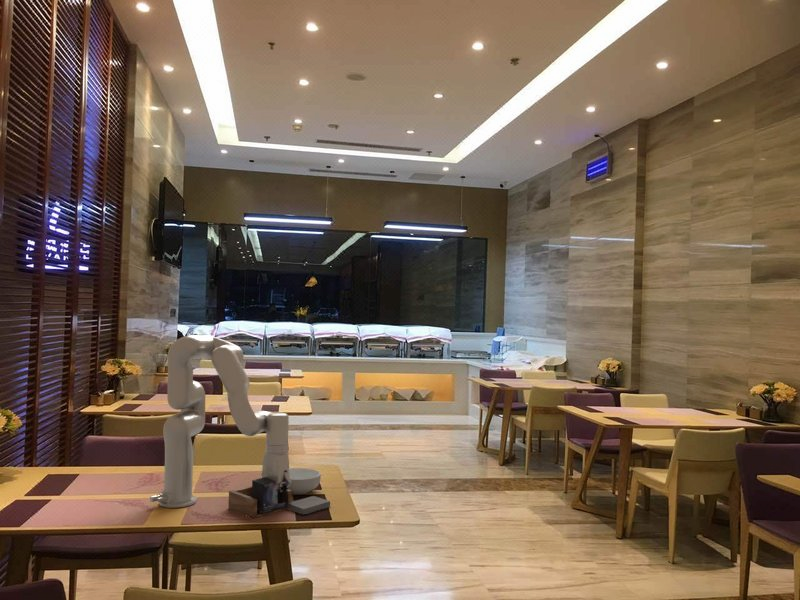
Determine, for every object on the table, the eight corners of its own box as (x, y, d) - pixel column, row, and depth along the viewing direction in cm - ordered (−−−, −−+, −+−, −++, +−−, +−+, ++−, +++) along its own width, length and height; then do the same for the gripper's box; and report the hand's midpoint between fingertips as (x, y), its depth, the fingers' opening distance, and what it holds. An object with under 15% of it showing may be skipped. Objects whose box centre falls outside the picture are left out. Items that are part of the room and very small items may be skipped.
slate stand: (303, 514, 205) (303, 508, 205) (286, 508, 211) (287, 503, 211) (330, 507, 214) (330, 501, 214) (313, 501, 220) (313, 495, 220)
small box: (262, 515, 202) (263, 483, 202) (250, 511, 206) (250, 480, 206) (286, 507, 210) (287, 477, 211) (274, 503, 214) (274, 474, 215)
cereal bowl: (300, 501, 220) (300, 481, 221) (266, 493, 229) (267, 474, 229) (329, 490, 235) (329, 471, 235) (296, 483, 244) (296, 465, 244)
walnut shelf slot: (252, 518, 201) (253, 500, 201) (228, 508, 210) (228, 491, 210) (291, 507, 213) (291, 490, 213) (266, 498, 222) (267, 482, 222)
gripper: (253, 446, 214) (251, 497, 213) (283, 454, 202) (282, 508, 202) (270, 443, 220) (269, 493, 219) (301, 451, 208) (300, 503, 208)
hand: (275, 500), depth 211 cm, fingers closed on small box, 6 cm apart
